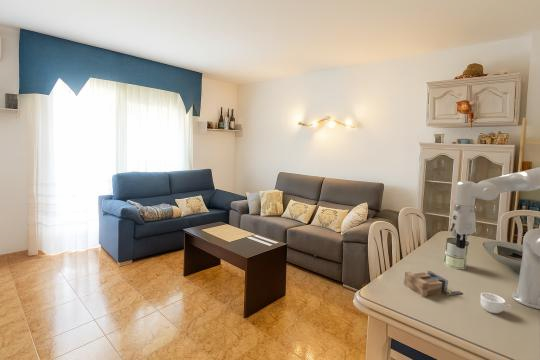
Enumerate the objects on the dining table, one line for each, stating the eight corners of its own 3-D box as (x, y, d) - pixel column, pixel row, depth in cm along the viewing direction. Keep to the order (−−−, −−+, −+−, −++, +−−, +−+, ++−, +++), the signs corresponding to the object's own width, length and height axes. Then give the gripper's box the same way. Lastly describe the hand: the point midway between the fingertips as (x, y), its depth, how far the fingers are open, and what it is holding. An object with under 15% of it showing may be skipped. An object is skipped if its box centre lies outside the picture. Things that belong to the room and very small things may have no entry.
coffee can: (440, 260, 164) (443, 236, 163) (459, 262, 163) (462, 238, 162) (449, 268, 154) (452, 243, 152) (470, 270, 153) (473, 244, 151)
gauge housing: (462, 293, 128) (464, 281, 127) (425, 299, 123) (427, 285, 122) (438, 280, 141) (440, 268, 140) (404, 284, 135) (405, 272, 134)
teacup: (478, 310, 116) (480, 297, 115) (479, 302, 122) (481, 290, 121) (510, 320, 109) (512, 307, 109) (510, 312, 115) (512, 299, 115)
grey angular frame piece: (451, 293, 127) (452, 283, 126) (432, 296, 124) (433, 285, 123) (429, 280, 138) (430, 270, 138) (411, 282, 136) (412, 272, 135)
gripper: (458, 211, 126) (454, 252, 128) (484, 209, 130) (480, 249, 132) (443, 207, 133) (440, 246, 135) (469, 206, 137) (465, 243, 139)
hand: (460, 247), depth 134 cm, fingers closed
